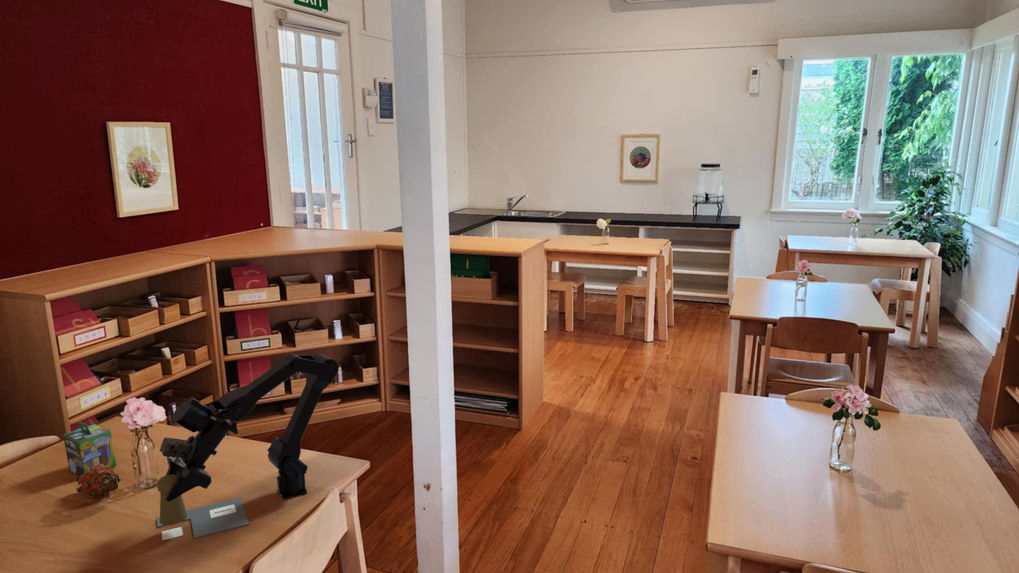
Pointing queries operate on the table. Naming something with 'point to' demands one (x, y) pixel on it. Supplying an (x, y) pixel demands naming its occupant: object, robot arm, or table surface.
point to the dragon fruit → (98, 481)
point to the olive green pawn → (173, 509)
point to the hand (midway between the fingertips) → (164, 496)
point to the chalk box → (89, 448)
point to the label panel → (211, 519)
